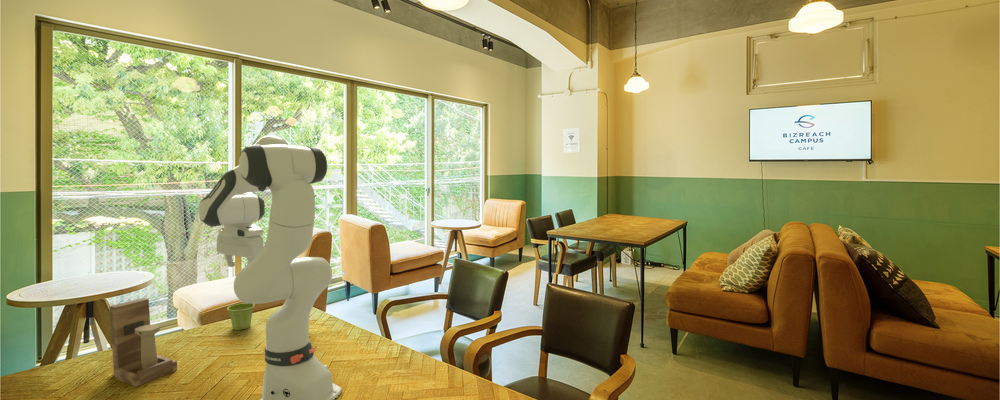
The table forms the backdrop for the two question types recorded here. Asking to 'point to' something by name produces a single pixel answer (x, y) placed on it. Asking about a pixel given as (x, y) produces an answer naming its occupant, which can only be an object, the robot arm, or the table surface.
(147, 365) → the handle
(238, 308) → the plant pot
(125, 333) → the wooden frame stand
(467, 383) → the table surface
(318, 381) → the robot arm
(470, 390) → the table surface
